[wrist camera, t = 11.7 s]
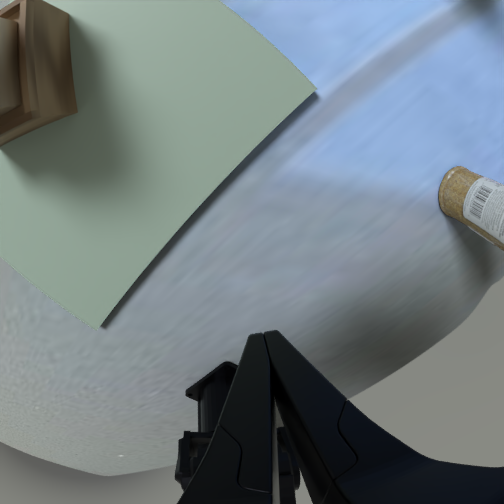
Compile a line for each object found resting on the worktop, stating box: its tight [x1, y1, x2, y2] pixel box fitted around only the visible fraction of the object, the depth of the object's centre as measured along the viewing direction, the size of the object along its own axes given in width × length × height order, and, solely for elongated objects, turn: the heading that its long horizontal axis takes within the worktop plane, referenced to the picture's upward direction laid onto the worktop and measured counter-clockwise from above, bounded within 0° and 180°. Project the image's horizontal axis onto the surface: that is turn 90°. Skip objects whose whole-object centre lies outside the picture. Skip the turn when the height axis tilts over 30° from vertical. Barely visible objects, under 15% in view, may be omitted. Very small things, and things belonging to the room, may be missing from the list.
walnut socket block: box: [0, 0, 78, 147], centre depth 10 cm, size 7×7×5 cm
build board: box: [0, 0, 317, 331], centre depth 14 cm, size 24×22×1 cm
